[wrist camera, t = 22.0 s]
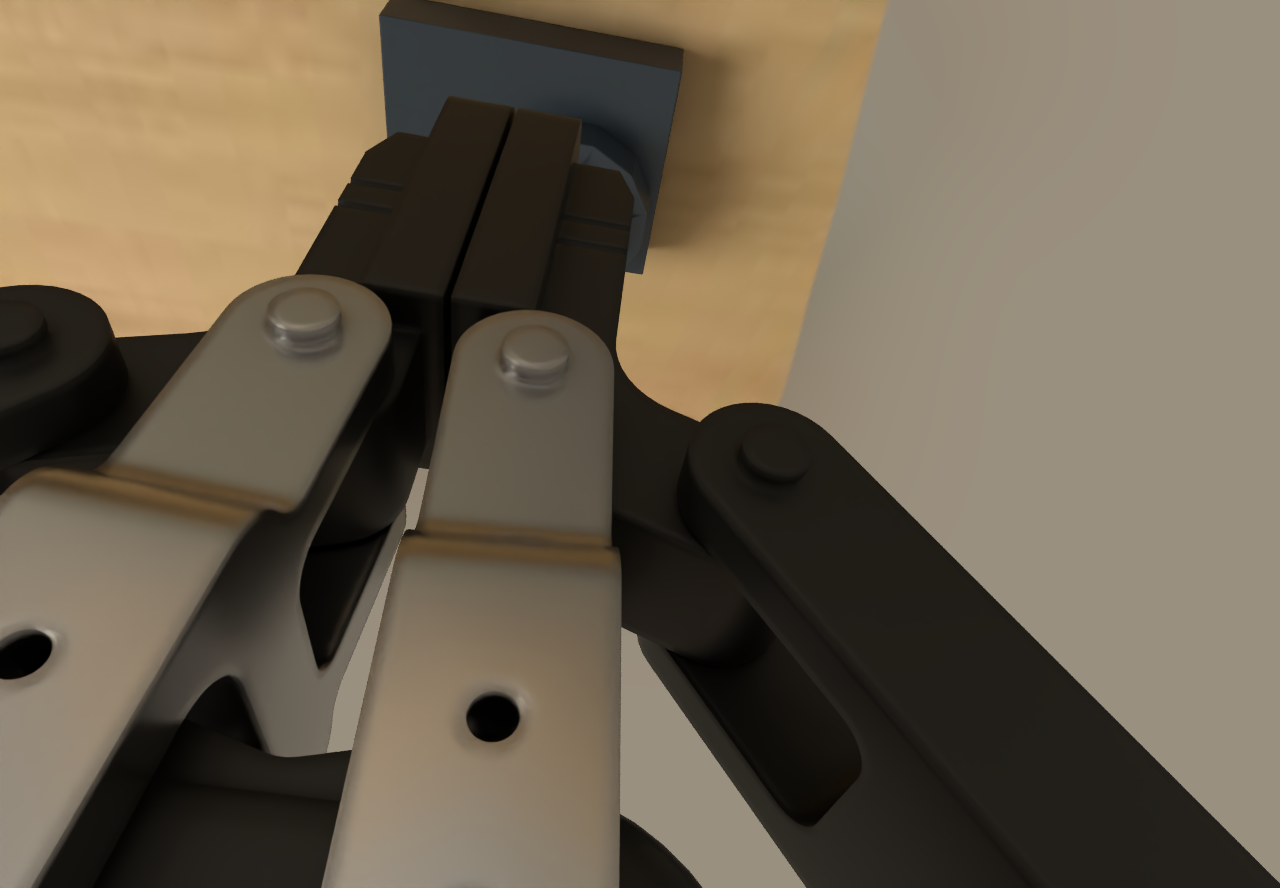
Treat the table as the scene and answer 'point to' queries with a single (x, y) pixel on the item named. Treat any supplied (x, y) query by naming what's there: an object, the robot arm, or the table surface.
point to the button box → (538, 87)
